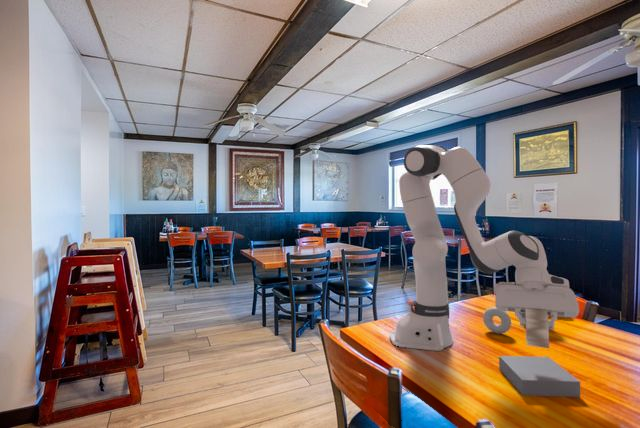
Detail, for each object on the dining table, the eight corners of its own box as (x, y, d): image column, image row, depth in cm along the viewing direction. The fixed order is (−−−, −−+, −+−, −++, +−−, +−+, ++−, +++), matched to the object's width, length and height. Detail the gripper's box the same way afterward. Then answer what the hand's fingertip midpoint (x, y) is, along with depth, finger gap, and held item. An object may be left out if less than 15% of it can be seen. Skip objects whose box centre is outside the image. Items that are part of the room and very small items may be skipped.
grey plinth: (522, 395, 86) (522, 380, 86) (499, 368, 100) (499, 355, 100) (580, 397, 85) (580, 381, 85) (548, 370, 99) (548, 356, 98)
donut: (512, 335, 125) (512, 308, 125) (509, 337, 123) (509, 311, 123) (484, 328, 132) (484, 303, 132) (481, 331, 130) (481, 305, 130)
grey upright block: (527, 345, 91) (526, 312, 91) (525, 338, 95) (524, 307, 95) (549, 348, 89) (548, 314, 89) (546, 341, 93) (545, 309, 93)
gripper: (493, 275, 103) (494, 316, 94) (575, 280, 93) (584, 326, 85) (494, 286, 107) (494, 326, 98) (572, 292, 97) (580, 337, 89)
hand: (536, 326), depth 91 cm, fingers closed on grey upright block, 5 cm apart
